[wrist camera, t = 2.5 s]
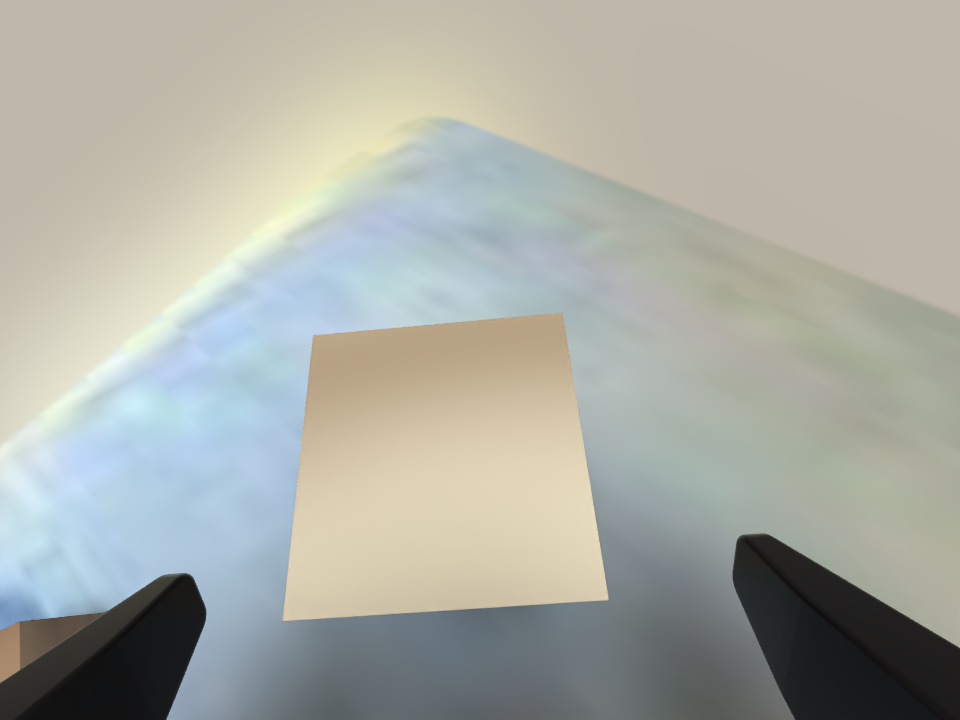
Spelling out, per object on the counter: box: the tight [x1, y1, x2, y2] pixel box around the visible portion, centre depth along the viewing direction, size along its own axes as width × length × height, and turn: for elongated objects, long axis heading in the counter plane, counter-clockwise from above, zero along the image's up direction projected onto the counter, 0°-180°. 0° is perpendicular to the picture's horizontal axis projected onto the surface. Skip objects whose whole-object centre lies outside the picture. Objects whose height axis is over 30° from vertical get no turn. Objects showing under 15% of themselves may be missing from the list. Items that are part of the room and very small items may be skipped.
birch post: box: [283, 313, 609, 621], centre depth 11 cm, size 4×4×10 cm
